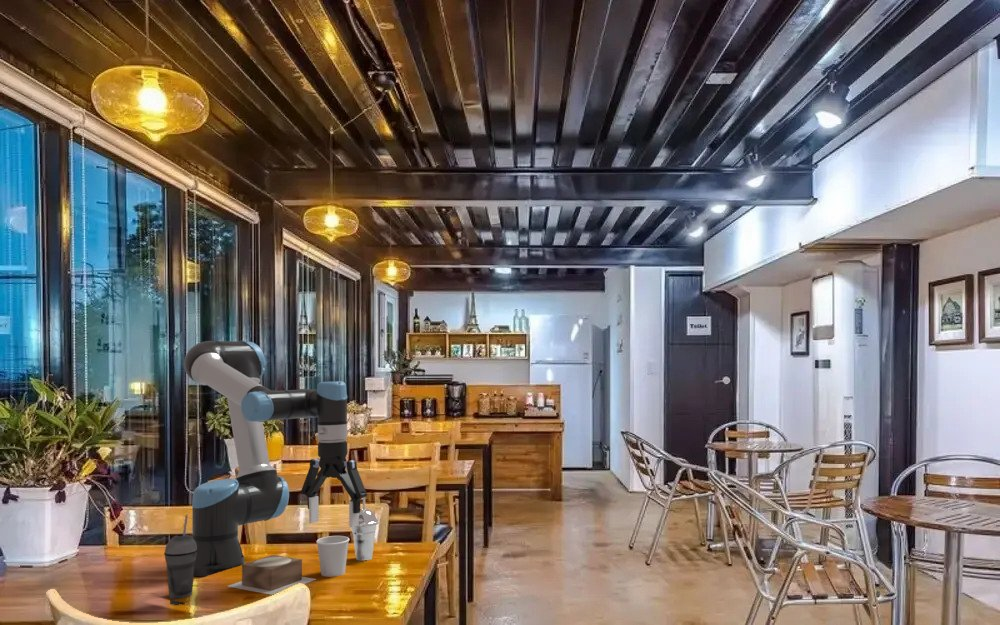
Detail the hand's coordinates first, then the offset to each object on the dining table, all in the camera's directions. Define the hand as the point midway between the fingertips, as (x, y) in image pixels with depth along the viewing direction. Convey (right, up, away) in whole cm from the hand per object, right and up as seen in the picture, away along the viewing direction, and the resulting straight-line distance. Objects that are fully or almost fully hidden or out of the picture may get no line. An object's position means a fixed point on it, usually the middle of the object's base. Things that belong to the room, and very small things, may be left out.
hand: (333, 524), depth 191 cm
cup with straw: (+4, -15, +19) cm, 25 cm away
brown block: (-13, -12, -8) cm, 20 cm away
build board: (-13, -14, -8) cm, 21 cm away
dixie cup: (0, -14, -1) cm, 14 cm away
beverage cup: (-32, -14, -17) cm, 39 cm away
